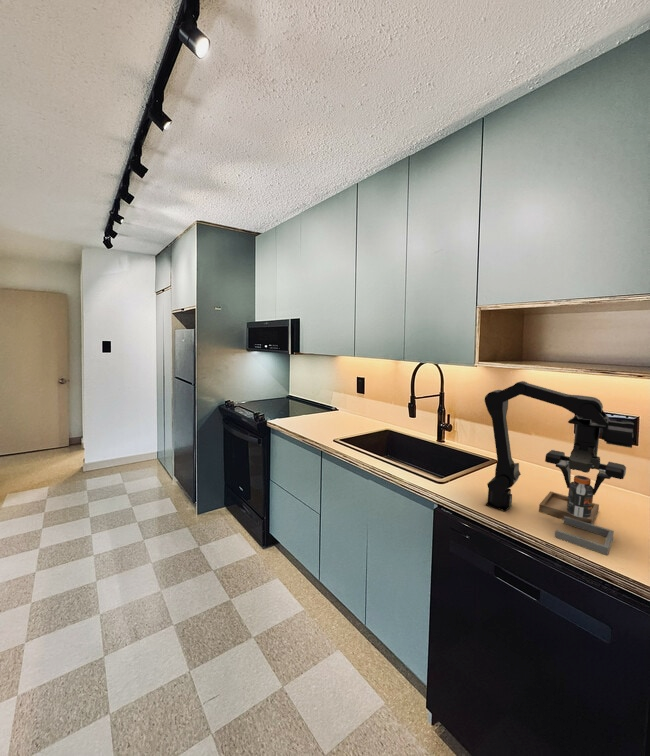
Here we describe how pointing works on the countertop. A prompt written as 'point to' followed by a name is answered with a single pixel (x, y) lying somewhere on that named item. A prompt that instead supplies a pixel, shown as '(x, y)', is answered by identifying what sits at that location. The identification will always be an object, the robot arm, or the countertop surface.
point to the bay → (584, 542)
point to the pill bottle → (580, 497)
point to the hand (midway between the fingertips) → (580, 491)
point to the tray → (563, 507)
